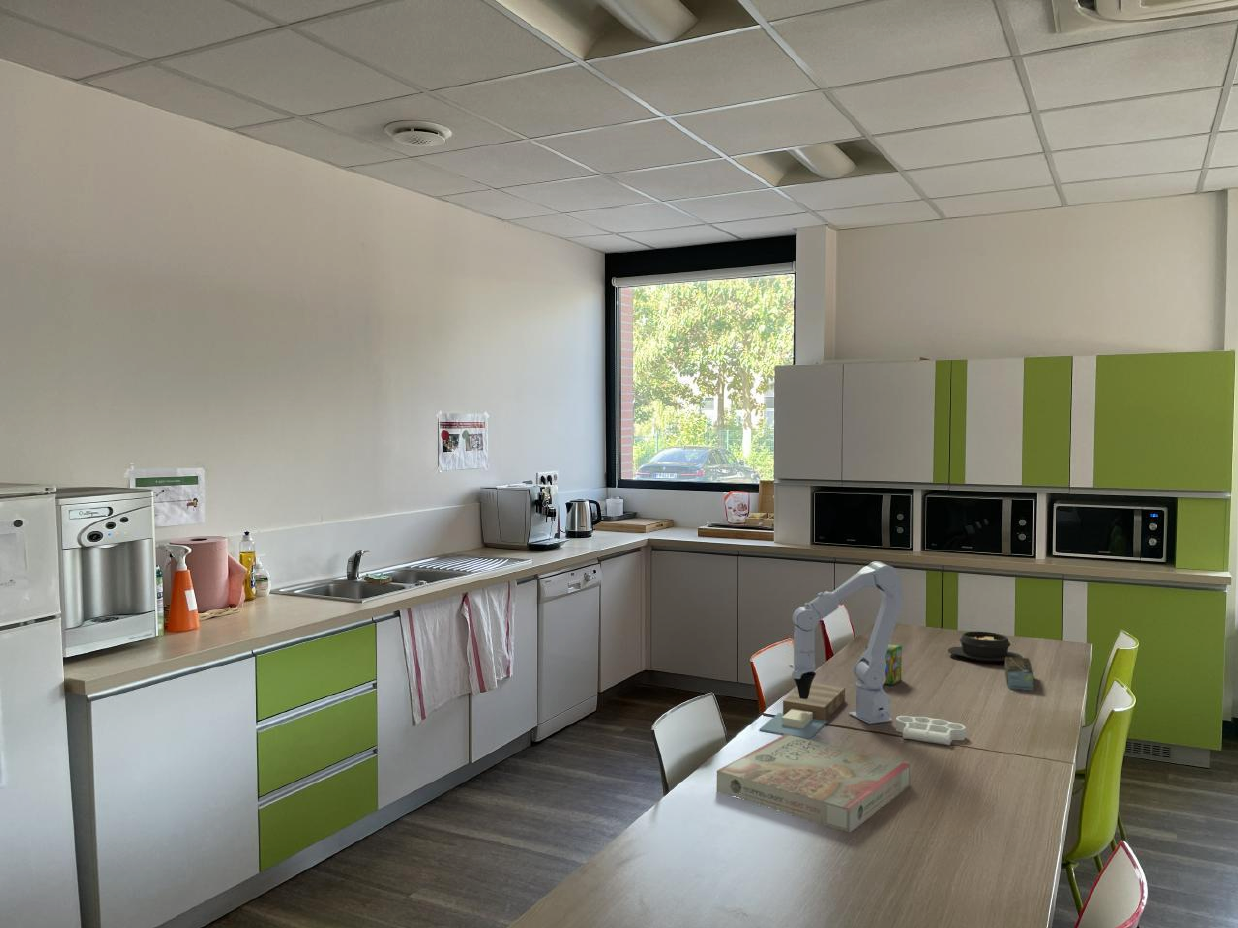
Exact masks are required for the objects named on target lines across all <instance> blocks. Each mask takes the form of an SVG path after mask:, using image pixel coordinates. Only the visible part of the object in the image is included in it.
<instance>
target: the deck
mask: <svg viewBox="0 0 1238 928" xmlns="http://www.w3.org/2000/svg"><path fill="white" fill-rule="evenodd" d="M844 702H846V687H842V686H836V685H829V684H822V683H815V682H812V684H811V688H810V692H809V696H808V698H807V699H802V698H800V697H799V693H798V689H796V690H795V691H793V692H792V693H791V694H790V695H788V696H787V697H786V698H785V699H783V700H782V714H786V713H788V712H789V711H790V710H791V709H797V710H803V711H809V712H813V719H818V720H824V721H827V719H829V718H830V716H831V715H832V714H833V713H834V712H836V710H838V708H840V706H842V705H843V704H844Z"/></svg>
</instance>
